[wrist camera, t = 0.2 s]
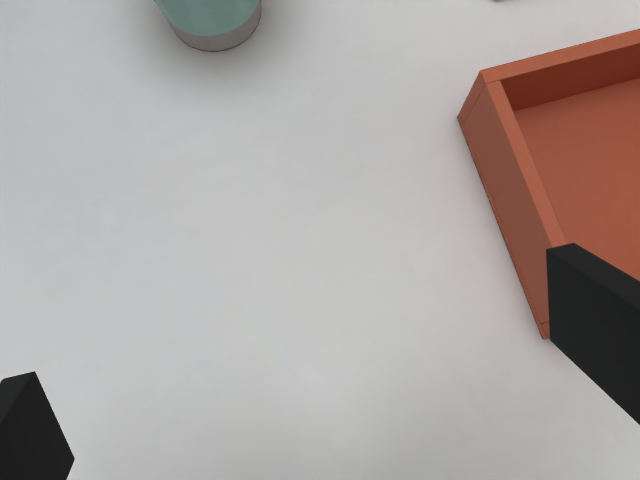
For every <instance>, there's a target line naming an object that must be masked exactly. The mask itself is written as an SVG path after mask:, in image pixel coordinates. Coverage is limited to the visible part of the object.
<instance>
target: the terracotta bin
mask: <svg viewBox="0 0 640 480" xmlns="http://www.w3.org/2000/svg"><path fill="white" fill-rule="evenodd" d="M457 118H458V120H459V123H460V126H461V128H462V131H463V133H464V136H465V139H466V141H467V144H468V146H469V149H470V152H471V154H472V157H473V159H474V162H475V165H476V167H477V170H478V172H479V175H480V178H481V180H482V183H483V185H484V188H485V191H486V193H487V196H488V198H489V201H490V204H491V206H492V209H493V211H494V214H495V217H496V219H497V222H498V224H499V227H500V230H501V232H502V235H503V237H504V240H505V243H506V245H507V248H508V250H509V253H510V256H511V258H512V261H513V263H514V266H515V269H516V271H517V274H518V276H519V279H520V281H521V284H522V287H523V289H524V292H525V294H526V297H527V300H528V302H529V305H530V307H531V310H532V313H533V315H534V318H535V320H536V323H537V326H538V328H539V331H540V333H541V336H542V339H547V338H550V332H549V309H548V287H547V264H546V249H549V248H553V247H557V246H562V245H566V244H570V243H575V244H577V245H579V246H581V247H582V248H584V249H586V250H587V251H589V252H591V253H593V254H594V255H596V256H598V257H599V258H601V259H603V260H605V261H606V262H608V263H610V264H611V265H613V266H615V267H617V268H618V269H620V270H622V271H623V272H625V273H627V274H628V275H630V276H632V277H634V278H635V279H637V280H639V281H640V29H637V30H633V31H629V32H625V33H621V34H618V35H614V36H610V37H606V38H602V39H598V40H595V41H591V42H587V43H583V44H579V45H575V46H572V47H568V48H564V49H560V50H556V51H553V52H549V53H545V54H541V55H537V56H533V57H530V58H526V59H522V60H518V61H514V62H511V63H507V64H503V65H499V66H495V67H491V68H488V69H484V70H481V71H480V72H479V74H478V76H477V78H476V80H475V82H474V84H473V86H472V88H471V90H470V92H469V94H468V96H467V98H466V100H465V102H464V104H463V107H462V109H461V111H460V113H459V115H458V117H457Z"/></svg>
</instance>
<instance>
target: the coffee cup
mask: <svg viewBox="0 0 640 480" xmlns="http://www.w3.org/2000/svg"><path fill="white" fill-rule="evenodd" d="M155 2H156V4H157V5H158V7H159V8H160V10H161V11H162V13H163V14H164V16H165V17H166V19H167V21H168V22H169V24H170V25H171V27H172V28H173V30H174V31H175V33H176V34H177V36H178V37H179V38H180V39H181V40H182V41H184V42H185V43H186V44H188V45H190V46H192V47H194V48H197V49H200V50H205V51H220V50H225V49H229V48H232V47H234V46H236V45H238V44H240V43H242V42H243V41H245V40H246V39H247V38H248V37H249V36H250V35H251V34H252V33H253V31H254V30H255V29H256V27H257V25H258V23H259V20H260V16H261V0H155Z"/></svg>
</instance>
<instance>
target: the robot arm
mask: <svg viewBox="0 0 640 480" xmlns="http://www.w3.org/2000/svg"><path fill="white" fill-rule="evenodd" d="M546 264H547V287H548V309H549V332H550V341H551V342H553V343H554V344H555V345H556V346H557V347H558V348H559V349H560V350H561V351H562V352H563V353H564V354H565V355H566V356H567V357H568V358H569V359H571V360H572V361H573V362H574V363H575V364H576V365H577V366H578V367H579V368H580V369H581V370H582V371H583V372H584V373H585V374H586V375H587V376H589V377H590V378H591V379H592V380H593V381H594V382H595V383H596V384H597V385H598V386H599V387H600V388H601V389H602V390H603V391H604V392H605V393H607V394H608V395H609V396H610V397H611V398H612V399H613V400H614V401H615V402H616V403H617V404H618V405H619V406H620V407H621V408H622V409H623V410H625V411H626V412H627V413H628V414H629V415H630V416H631V417H632V418H633V419H634V420H635V421H636V422H637V423H638V424H639V425H640V281H639V280H637V279H635V278H634V277H632V276H630V275H628V274H627V273H625V272H623V271H622V270H620V269H618V268H617V267H615V266H613V265H611V264H610V263H608V262H606V261H605V260H603V259H601V258H599V257H598V256H596V255H594V254H593V253H591V252H589V251H587V250H586V249H584V248H582V247H581V246H579V245H577V244H575V243H570V244H566V245H562V246H557V247H553V248H549V249H546ZM74 459H75V458H74V456H73V454H72V452H71V450H70V447H69V445H68V443H67V441H66V439H65V436H64V434H63V432H62V430H61V428H60V425H59V423H58V421H57V419H56V417H55V414H54V412H53V410H52V408H51V406H50V403H49V401H48V399H47V397H46V395H45V392H44V390H43V388H42V386H41V384H40V381H39V379H38V377H37V375H36V373H35V371H34V372H30V373H26V374H22V375H18V376H13V377H9V378H5V379H3V380H2V381H1V383H0V480H66V479H67V477H68V474H69V472H70V469H71V467H72V464H73V462H74Z"/></svg>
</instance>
